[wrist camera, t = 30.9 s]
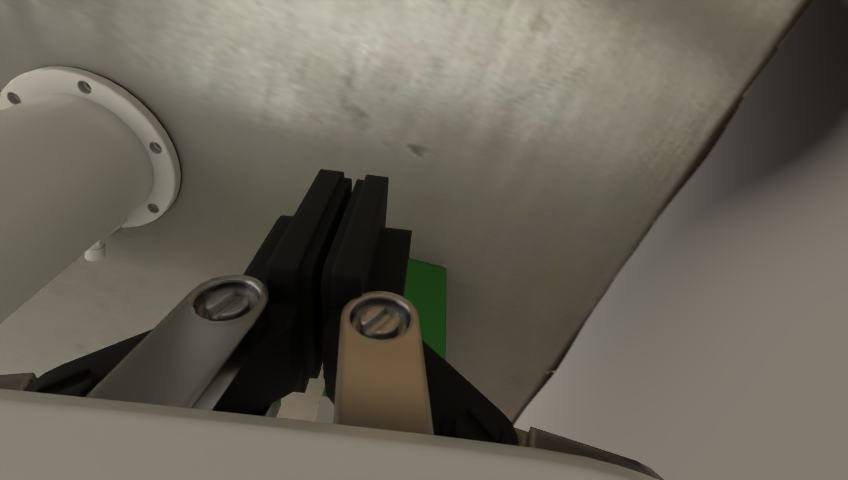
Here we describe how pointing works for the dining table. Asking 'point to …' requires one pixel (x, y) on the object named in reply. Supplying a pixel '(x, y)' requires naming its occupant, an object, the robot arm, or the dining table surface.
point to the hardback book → (430, 303)
